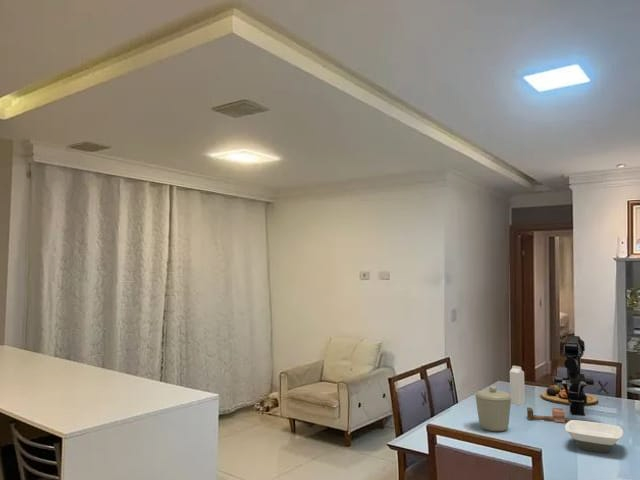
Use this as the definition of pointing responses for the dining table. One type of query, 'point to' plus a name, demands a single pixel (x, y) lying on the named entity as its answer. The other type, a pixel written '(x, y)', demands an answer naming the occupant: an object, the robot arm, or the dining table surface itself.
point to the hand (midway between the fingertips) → (573, 396)
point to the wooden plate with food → (563, 396)
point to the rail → (536, 417)
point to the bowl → (594, 435)
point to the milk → (517, 385)
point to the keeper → (558, 415)
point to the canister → (493, 409)
